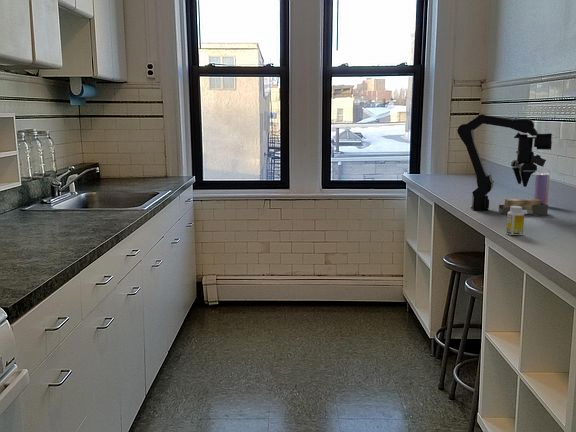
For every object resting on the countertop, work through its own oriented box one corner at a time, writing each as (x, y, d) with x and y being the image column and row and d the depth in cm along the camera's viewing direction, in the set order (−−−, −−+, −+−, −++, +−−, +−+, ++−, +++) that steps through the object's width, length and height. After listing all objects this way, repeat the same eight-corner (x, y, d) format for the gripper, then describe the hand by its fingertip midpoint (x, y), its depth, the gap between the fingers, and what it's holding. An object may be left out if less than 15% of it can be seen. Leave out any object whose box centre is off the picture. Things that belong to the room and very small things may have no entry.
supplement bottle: (525, 234, 208) (527, 206, 206) (519, 237, 204) (521, 208, 202) (509, 232, 212) (511, 204, 210) (503, 234, 208) (505, 206, 206)
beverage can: (539, 207, 264) (541, 174, 261) (530, 205, 270) (532, 173, 267) (550, 206, 266) (552, 174, 263) (541, 204, 271) (543, 172, 269)
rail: (507, 209, 247) (508, 200, 246) (504, 208, 251) (505, 199, 250) (540, 209, 246) (541, 200, 245) (537, 208, 250) (538, 199, 249)
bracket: (532, 215, 245) (533, 204, 244) (526, 212, 252) (527, 202, 251) (547, 215, 244) (547, 205, 243) (541, 212, 252) (542, 202, 251)
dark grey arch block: (503, 214, 246) (503, 207, 245) (498, 211, 253) (499, 204, 253) (512, 215, 246) (513, 207, 245) (507, 211, 253) (508, 204, 252)
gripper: (551, 150, 237) (548, 188, 239) (538, 147, 255) (535, 182, 258) (523, 150, 238) (520, 188, 241) (512, 147, 256) (509, 182, 259)
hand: (522, 185), depth 250 cm, fingers open, 9 cm apart
